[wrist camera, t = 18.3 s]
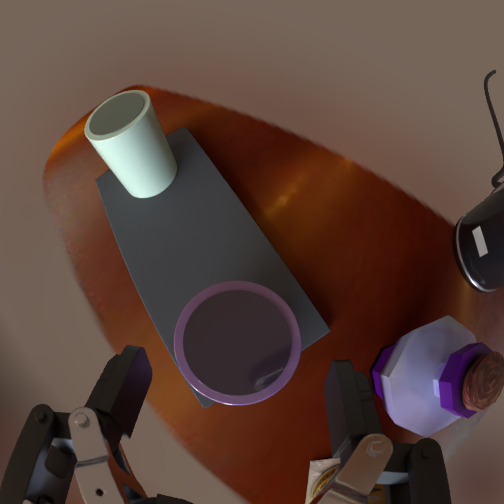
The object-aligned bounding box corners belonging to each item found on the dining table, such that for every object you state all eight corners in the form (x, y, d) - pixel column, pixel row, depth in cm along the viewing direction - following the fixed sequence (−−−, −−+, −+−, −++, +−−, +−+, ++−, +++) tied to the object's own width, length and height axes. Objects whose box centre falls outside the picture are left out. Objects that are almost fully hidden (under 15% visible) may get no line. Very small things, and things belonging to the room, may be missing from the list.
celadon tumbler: (165, 142, 27) (138, 80, 19) (186, 177, 26) (159, 110, 17) (118, 170, 26) (80, 115, 18) (134, 209, 25) (89, 153, 16)
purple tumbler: (258, 291, 22) (256, 256, 13) (299, 353, 20) (326, 360, 11) (194, 330, 21) (151, 320, 12) (234, 393, 19) (216, 426, 11)
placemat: (186, 129, 29) (185, 125, 28) (329, 330, 21) (331, 330, 21) (97, 182, 27) (95, 179, 26) (205, 407, 19) (203, 408, 19)
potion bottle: (381, 435, 18) (460, 484, 6) (333, 367, 20) (405, 387, 9) (445, 372, 19) (538, 373, 8) (405, 305, 21) (497, 269, 10)
